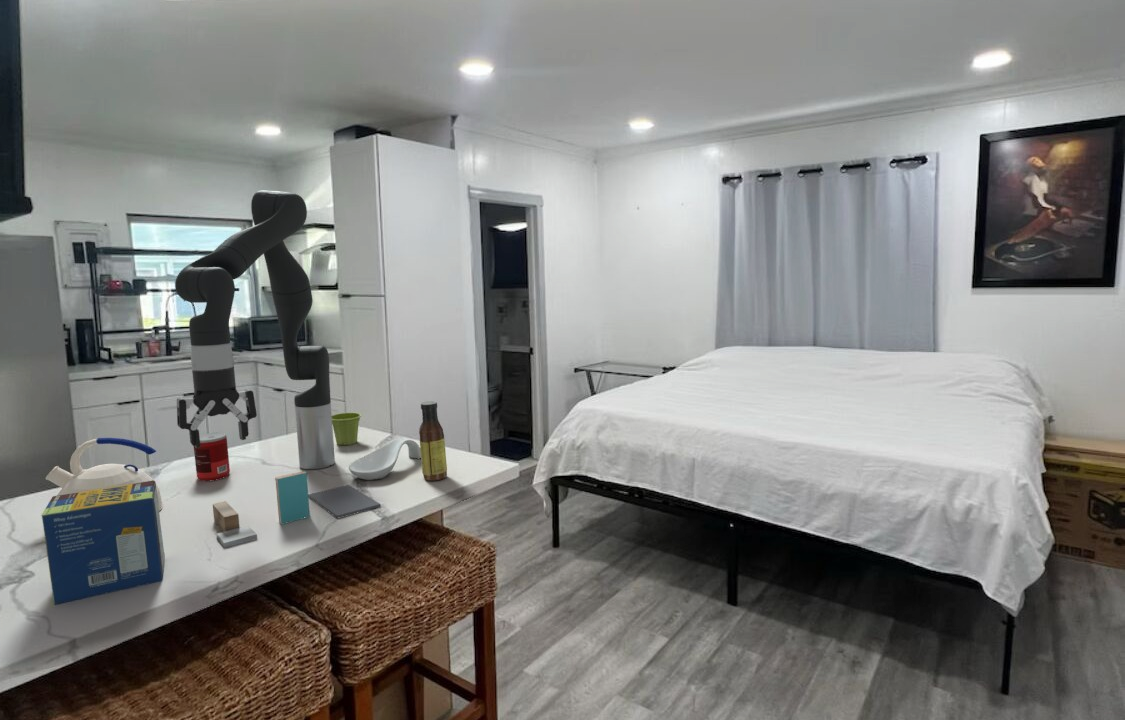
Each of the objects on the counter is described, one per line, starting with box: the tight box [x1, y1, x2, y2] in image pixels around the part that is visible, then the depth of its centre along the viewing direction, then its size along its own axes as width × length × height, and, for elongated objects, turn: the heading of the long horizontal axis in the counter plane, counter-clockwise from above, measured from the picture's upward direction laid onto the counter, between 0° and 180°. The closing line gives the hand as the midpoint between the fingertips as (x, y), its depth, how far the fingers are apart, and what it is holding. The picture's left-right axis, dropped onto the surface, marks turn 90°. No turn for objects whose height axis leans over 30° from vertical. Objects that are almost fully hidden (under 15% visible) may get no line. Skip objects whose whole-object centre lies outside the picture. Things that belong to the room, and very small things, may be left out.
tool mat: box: [308, 484, 381, 519], centre depth 146 cm, size 18×10×1 cm, turn 41°
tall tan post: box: [212, 500, 258, 548], centre depth 131 cm, size 16×6×4 cm, turn 41°
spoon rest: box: [348, 438, 421, 481], centre depth 169 cm, size 24×12×7 cm, turn 155°
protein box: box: [40, 479, 166, 605], centre depth 109 cm, size 10×15×16 cm
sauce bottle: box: [418, 400, 448, 482], centre depth 161 cm, size 6×6×20 cm
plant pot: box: [332, 412, 362, 446], centre depth 196 cm, size 9×9×9 cm
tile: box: [274, 470, 311, 525], centre depth 136 cm, size 2×6×10 cm, turn 131°
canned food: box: [193, 432, 231, 482], centre depth 165 cm, size 8×8×11 cm
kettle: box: [45, 437, 164, 512], centre depth 139 cm, size 20×21×18 cm
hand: (220, 443), depth 130 cm, fingers open, 8 cm apart
